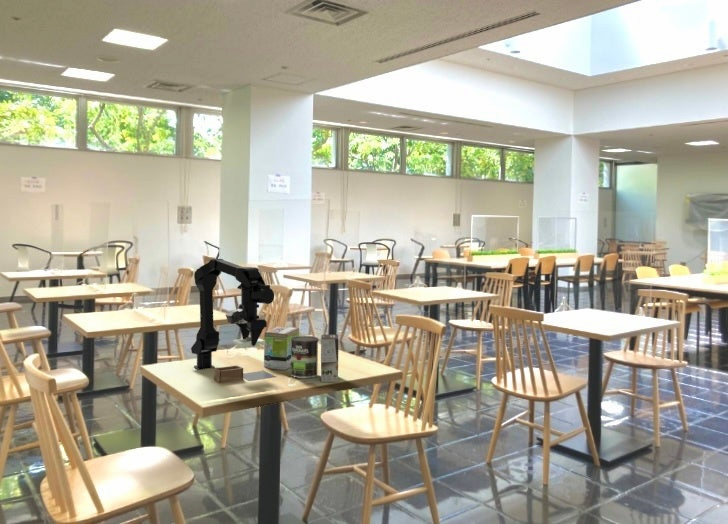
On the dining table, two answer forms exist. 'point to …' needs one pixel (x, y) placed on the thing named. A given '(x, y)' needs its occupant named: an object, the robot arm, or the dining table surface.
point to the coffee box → (329, 358)
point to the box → (228, 374)
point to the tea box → (279, 347)
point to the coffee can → (304, 356)
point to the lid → (248, 342)
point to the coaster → (257, 375)
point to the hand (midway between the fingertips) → (249, 343)
